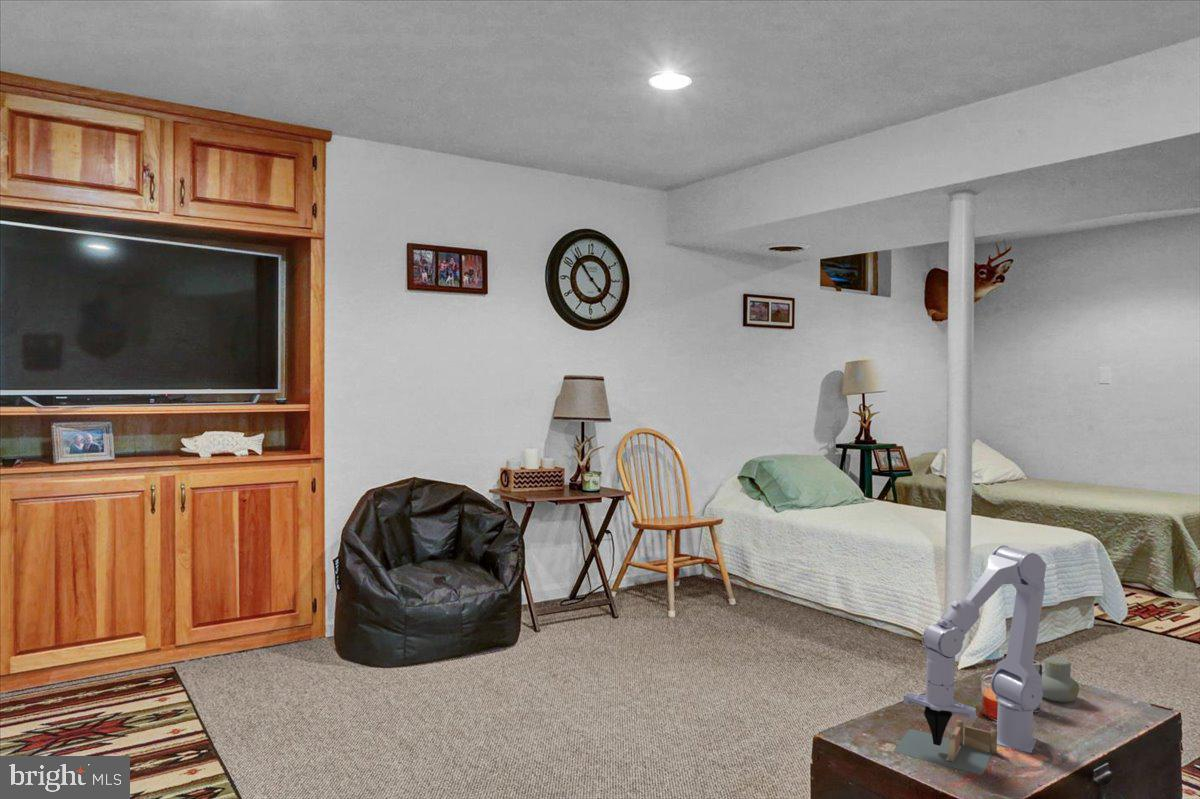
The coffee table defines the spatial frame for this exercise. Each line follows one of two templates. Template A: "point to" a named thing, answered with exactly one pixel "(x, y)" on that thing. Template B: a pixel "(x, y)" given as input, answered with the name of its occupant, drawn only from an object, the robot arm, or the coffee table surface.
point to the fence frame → (978, 738)
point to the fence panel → (954, 744)
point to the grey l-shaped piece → (1058, 680)
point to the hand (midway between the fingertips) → (937, 743)
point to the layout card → (942, 752)
